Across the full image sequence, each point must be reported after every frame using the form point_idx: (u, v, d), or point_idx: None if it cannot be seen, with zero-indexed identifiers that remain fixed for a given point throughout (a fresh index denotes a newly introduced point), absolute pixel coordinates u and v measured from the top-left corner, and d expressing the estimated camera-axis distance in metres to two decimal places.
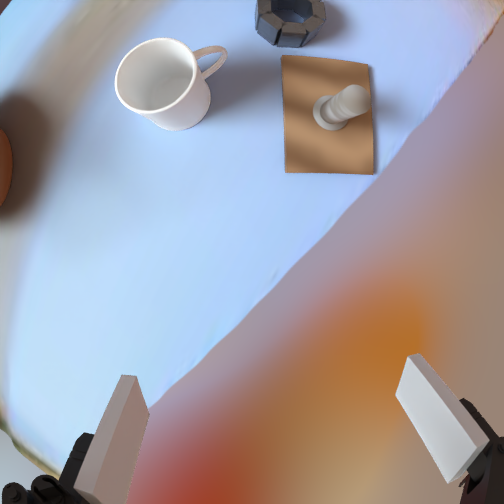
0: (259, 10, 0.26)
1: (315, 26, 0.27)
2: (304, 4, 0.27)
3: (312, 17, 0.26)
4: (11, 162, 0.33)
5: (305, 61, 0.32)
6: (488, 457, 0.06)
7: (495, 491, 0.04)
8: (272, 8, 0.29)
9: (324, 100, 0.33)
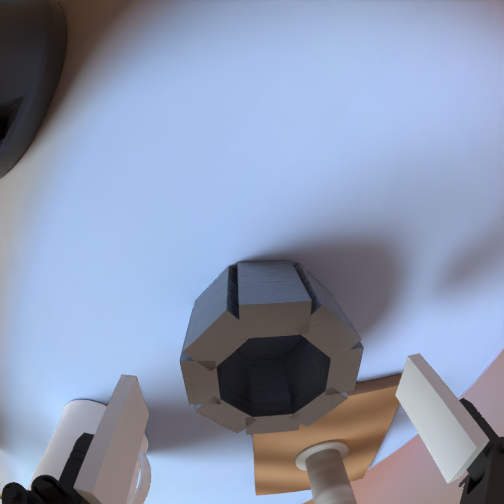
0: (191, 396, 0.13)
1: (323, 412, 0.14)
2: None
3: (321, 396, 0.13)
4: None
5: None
6: (488, 457, 0.06)
7: (495, 491, 0.04)
8: None
9: (315, 451, 0.20)
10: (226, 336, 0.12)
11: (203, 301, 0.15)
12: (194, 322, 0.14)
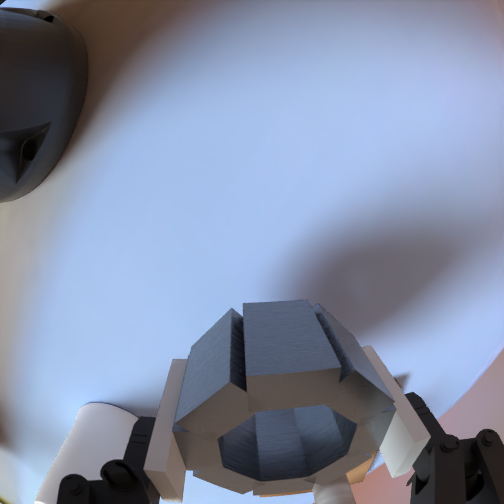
0: (188, 464, 0.09)
1: (342, 472, 0.10)
2: None
3: (342, 460, 0.10)
4: None
5: None
6: (431, 458, 0.07)
7: (445, 493, 0.05)
8: None
9: None
10: (229, 409, 0.08)
11: (200, 352, 0.12)
12: (189, 382, 0.10)
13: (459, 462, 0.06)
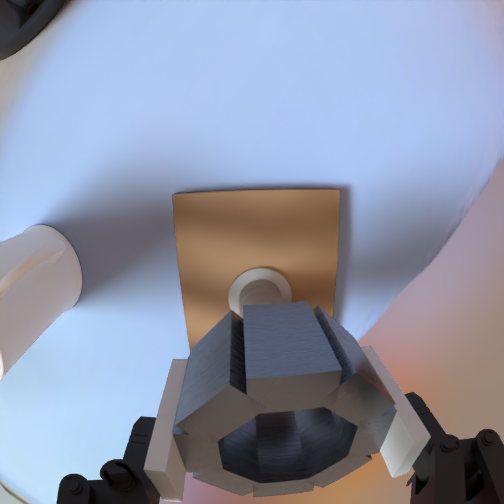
0: (187, 465, 0.09)
1: (342, 474, 0.10)
2: None
3: (342, 461, 0.10)
4: None
5: (214, 204, 0.20)
6: (431, 458, 0.07)
7: (445, 493, 0.05)
8: None
9: (248, 280, 0.22)
10: (229, 411, 0.08)
11: (200, 354, 0.12)
12: (189, 384, 0.10)
13: (459, 462, 0.06)
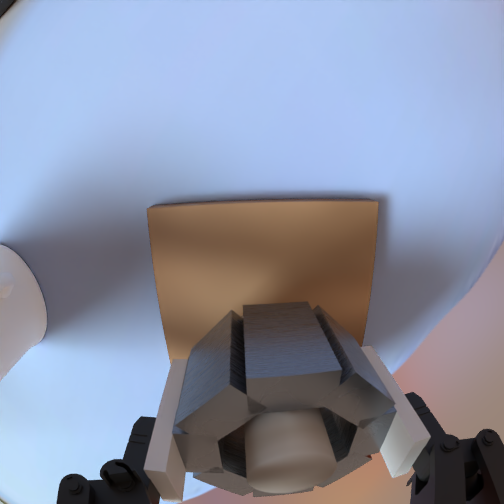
0: (187, 465, 0.09)
1: (342, 474, 0.10)
2: None
3: (342, 461, 0.10)
4: None
5: (205, 222, 0.14)
6: (431, 458, 0.07)
7: (445, 493, 0.05)
8: None
9: None
10: (229, 411, 0.08)
11: (200, 354, 0.12)
12: (189, 384, 0.10)
13: (459, 462, 0.06)
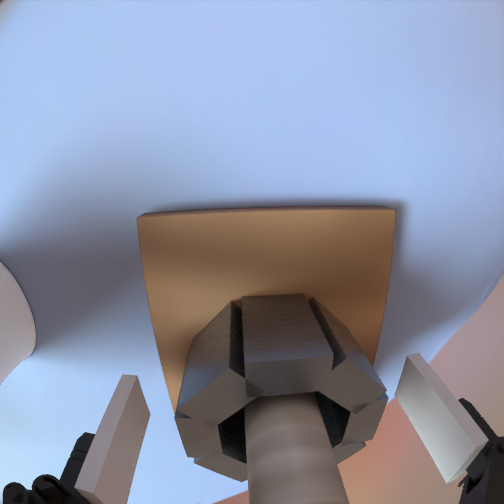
0: (189, 450, 0.10)
1: (337, 461, 0.11)
2: None
3: (337, 447, 0.11)
4: None
5: (202, 233, 0.13)
6: (487, 457, 0.06)
7: (494, 491, 0.04)
8: None
9: None
10: (228, 395, 0.09)
11: (201, 343, 0.12)
12: (191, 370, 0.11)
13: None
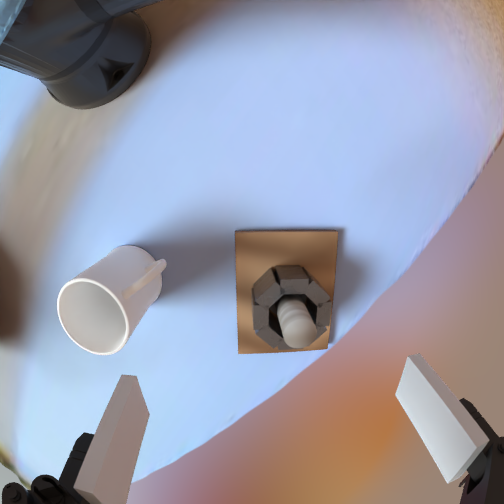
0: (255, 325, 0.31)
1: (315, 338, 0.31)
2: None
3: None
4: None
5: (261, 239, 0.34)
6: (488, 457, 0.06)
7: (495, 491, 0.04)
8: None
9: None
10: (274, 293, 0.30)
11: (259, 282, 0.33)
12: (257, 290, 0.32)
13: None
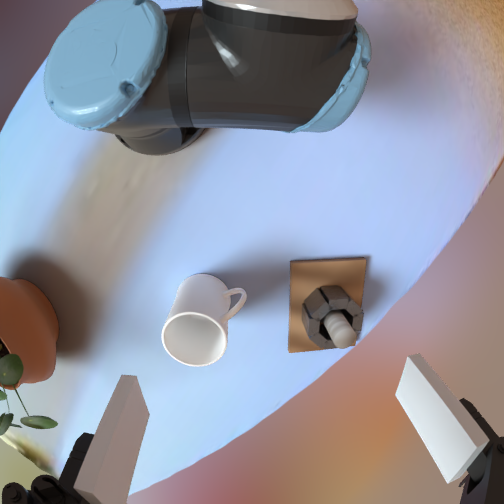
0: (309, 332, 0.41)
1: None
2: None
3: None
4: (56, 319, 0.45)
5: (311, 268, 0.43)
6: (488, 457, 0.06)
7: (495, 491, 0.04)
8: None
9: None
10: (324, 309, 0.40)
11: (310, 300, 0.43)
12: (310, 307, 0.42)
13: None
